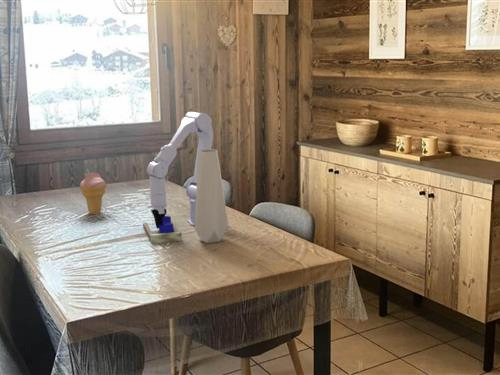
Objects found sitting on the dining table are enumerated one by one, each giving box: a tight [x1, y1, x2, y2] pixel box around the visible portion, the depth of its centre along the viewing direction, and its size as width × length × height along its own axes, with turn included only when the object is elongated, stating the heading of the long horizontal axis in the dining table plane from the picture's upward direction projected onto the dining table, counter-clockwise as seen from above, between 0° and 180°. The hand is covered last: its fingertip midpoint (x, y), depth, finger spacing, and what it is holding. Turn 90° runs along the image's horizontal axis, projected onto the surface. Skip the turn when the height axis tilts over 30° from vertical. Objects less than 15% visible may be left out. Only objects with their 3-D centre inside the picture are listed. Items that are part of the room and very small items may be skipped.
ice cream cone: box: [79, 165, 107, 215], centre depth 259 cm, size 11×11×20 cm
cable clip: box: [158, 215, 174, 234], centre depth 226 cm, size 12×4×6 cm, turn 12°
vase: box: [194, 148, 229, 244], centre depth 218 cm, size 12×12×33 cm
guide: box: [142, 220, 183, 244], centre depth 229 cm, size 11×22×3 cm, turn 17°
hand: (159, 227), depth 234 cm, fingers closed
